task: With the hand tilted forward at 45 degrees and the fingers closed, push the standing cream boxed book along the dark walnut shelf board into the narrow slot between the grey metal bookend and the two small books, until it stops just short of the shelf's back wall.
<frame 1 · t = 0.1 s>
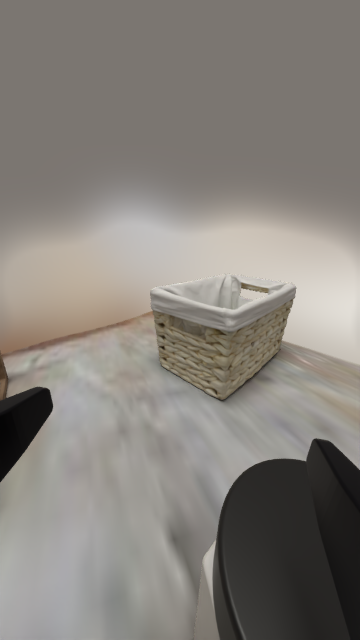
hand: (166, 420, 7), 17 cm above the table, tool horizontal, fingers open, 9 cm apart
storage basket: (221, 359, 44), on the table
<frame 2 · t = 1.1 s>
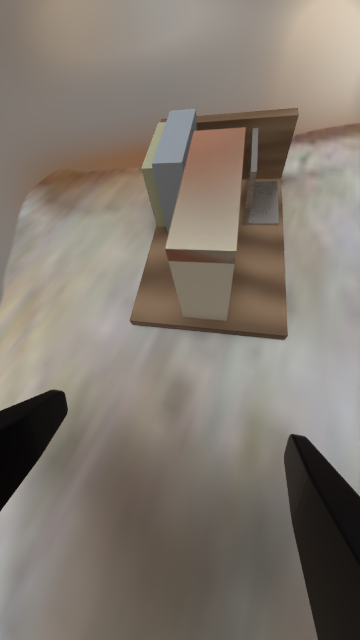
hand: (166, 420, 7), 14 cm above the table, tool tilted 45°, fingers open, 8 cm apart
small books: (180, 212, 32), resting on shelf
boxed book: (211, 265, 26), point 1 cm above the table, touching shelf
bookend: (252, 209, 30), resting on shelf
shelf: (217, 222, 30), on the table
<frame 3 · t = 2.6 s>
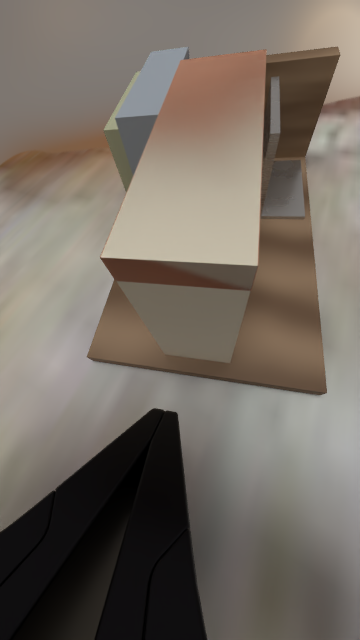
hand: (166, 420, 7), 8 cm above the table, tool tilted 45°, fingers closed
small books: (169, 202, 24), resting on shelf
boxed book: (208, 275, 18), point 1 cm above the table, touching shelf
bookend: (266, 198, 22), resting on shelf
shelf: (218, 215, 22), on the table
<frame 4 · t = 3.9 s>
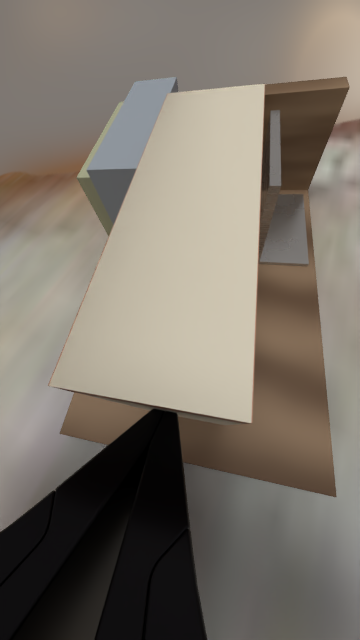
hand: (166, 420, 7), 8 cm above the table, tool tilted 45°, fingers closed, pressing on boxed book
small books: (159, 237, 22), resting on shelf
boxed book: (202, 316, 16), point 1 cm above the table, touching gripper
bookend: (265, 236, 20), resting on shelf
shelf: (212, 255, 20), on the table
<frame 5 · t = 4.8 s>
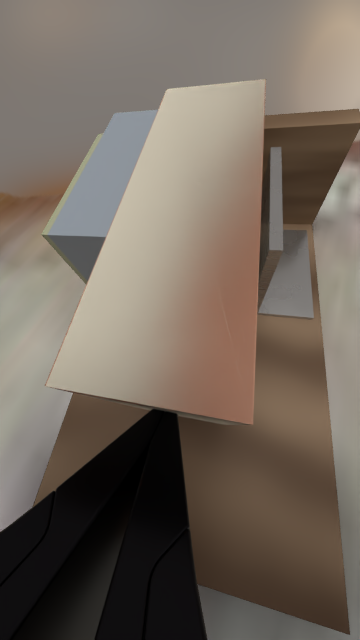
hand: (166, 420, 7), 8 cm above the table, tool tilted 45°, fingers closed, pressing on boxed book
small books: (148, 275, 20), resting on shelf
boxed book: (202, 315, 16), point 1 cm above the table, touching gripper, shelf
bookend: (264, 277, 18), resting on shelf
shelf: (206, 299, 18), on the table
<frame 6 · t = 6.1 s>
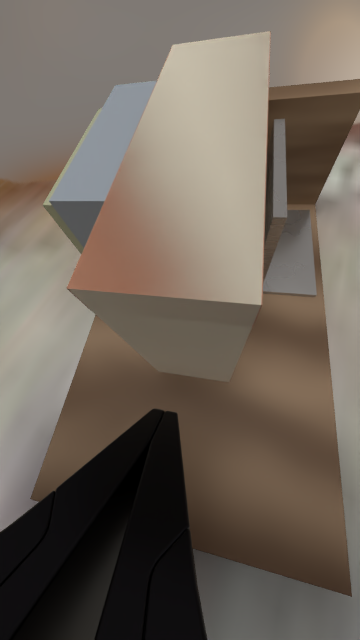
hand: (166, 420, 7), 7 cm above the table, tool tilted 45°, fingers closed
small books: (149, 257, 20), resting on shelf
boxed book: (206, 283, 17), point 1 cm above the table, touching shelf
bookend: (267, 258, 18), resting on shelf
shelf: (208, 280, 18), on the table
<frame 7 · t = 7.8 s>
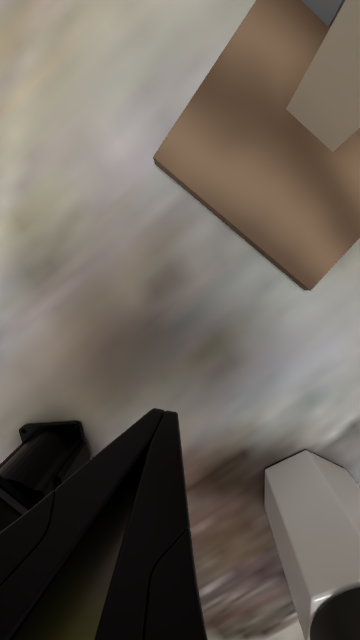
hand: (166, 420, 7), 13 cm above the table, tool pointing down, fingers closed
jar: (302, 484, 23), on the table
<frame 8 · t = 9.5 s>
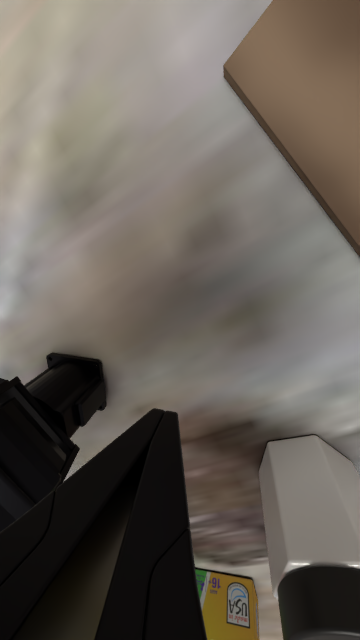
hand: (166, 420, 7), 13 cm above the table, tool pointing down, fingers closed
jar: (301, 464, 23), on the table
game box: (187, 573, 35), on the table
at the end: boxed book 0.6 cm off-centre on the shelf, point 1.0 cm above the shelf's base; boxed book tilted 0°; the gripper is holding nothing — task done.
